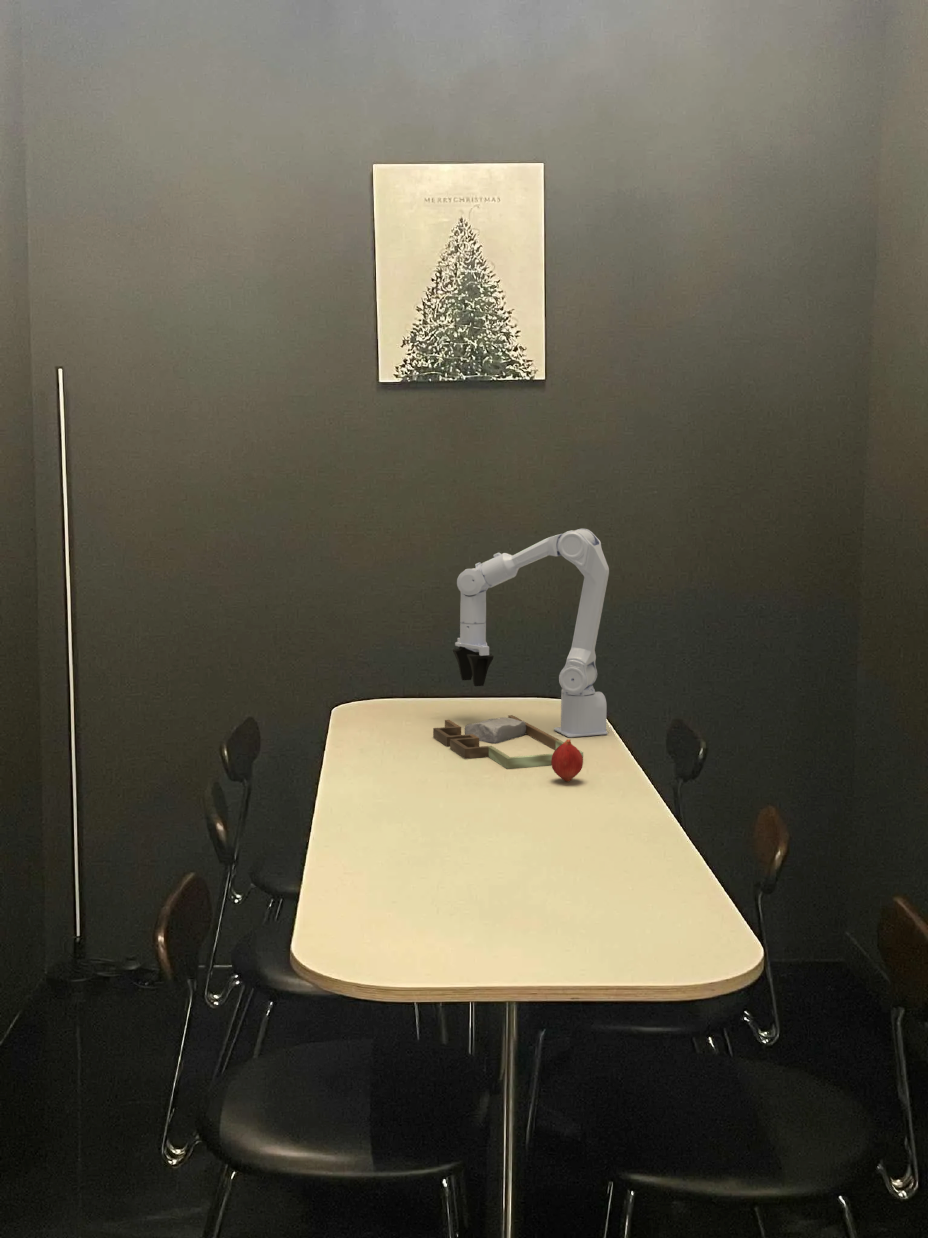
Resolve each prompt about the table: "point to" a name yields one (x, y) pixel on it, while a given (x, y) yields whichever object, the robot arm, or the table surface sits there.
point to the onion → (567, 761)
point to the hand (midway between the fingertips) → (472, 682)
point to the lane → (470, 747)
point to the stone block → (497, 729)
